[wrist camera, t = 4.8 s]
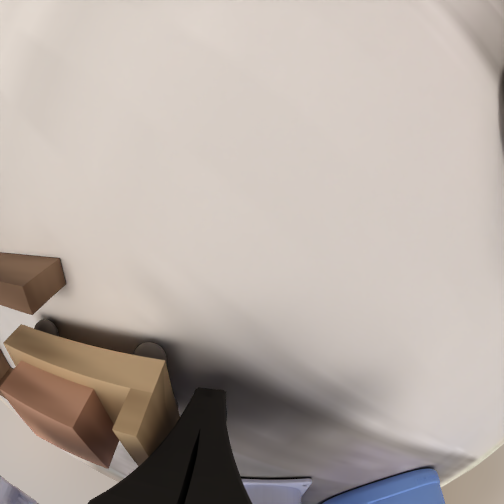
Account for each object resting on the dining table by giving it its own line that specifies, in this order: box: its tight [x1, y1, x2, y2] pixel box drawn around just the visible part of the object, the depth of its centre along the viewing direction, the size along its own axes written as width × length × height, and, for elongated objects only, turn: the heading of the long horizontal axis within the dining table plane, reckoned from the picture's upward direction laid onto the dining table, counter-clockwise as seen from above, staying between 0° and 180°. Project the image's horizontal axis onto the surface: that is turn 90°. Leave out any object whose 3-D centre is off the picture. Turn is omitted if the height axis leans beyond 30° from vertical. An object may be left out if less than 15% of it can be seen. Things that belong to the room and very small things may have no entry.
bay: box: [0, 253, 66, 398], centre depth 10 cm, size 11×12×2 cm
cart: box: [0, 320, 180, 468], centre depth 9 cm, size 5×8×5 cm, turn 88°
